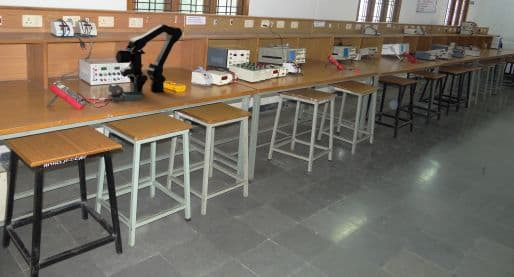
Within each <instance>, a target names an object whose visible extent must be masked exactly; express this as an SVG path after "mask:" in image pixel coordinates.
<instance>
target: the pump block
mask: <svg viewBox="0 0 514 277" xmlns="http://www.w3.org/2000/svg"><path fill="white" fill-rule="evenodd" d="M143 87H144V86H143ZM143 87H142V90H141V92H138V88H137V83H136V82H135V81H134V82H131V81H130V91H137V92H138V93H140V94H142V95H143V93H144V92H143Z"/></svg>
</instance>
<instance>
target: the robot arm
mask: <svg viewBox="0 0 514 277" xmlns="http://www.w3.org/2000/svg"><path fill="white" fill-rule="evenodd" d="M163 33H166V35H165V36H166V38H165V42H164V44H163V45H162V48H161V50H160V52H159V54H158V55H157V57H156V59H155V61H154V62H152V63H149V65H148V68H146V70H147V71H146V74H147V75H146V74H144V72H143V69H142V68H143V67H144V64H142V63H143V62H142V55H145V54H146V52H145V51H144V50H143V48H145V47H146V46H147V44H148V43H149V42H150V41H151V40H154V39H155V38H157V37H158V36H159V35H161V34H163ZM182 35H183V31H182V28H180V27H176V26H170V25H166V24H164V23H159V24H157V26H155V27H153V28H152V29H150V30H149V31H146V32H145V33H144V34H142V35H138V36H135V37H132V38H130V39H129V41H128V44H127V45H126V47H125V49H117V52H116V55H115V59H116V62H117V64H126V63H127V64H128V66H126V67H124V68H121V69H120V70H119V72H120V74H121V76H122V77H124V78H125V77H127V78H128V79H129V80H130V82H134V81H135V82H136V83H137V88H138V92H141V90H142V87H144V85H145V83H146V82H147V81H148V80H150V81H151V83H150V84H149V85H150V89H149V91H150V92H153V94H154V93H155V94H156V93H165V91H166V90H164V88H165V87H164V85H165V84H164V83H165V82H166V79H167V78H166V77H165V75H164V74H163V73H164V65H165V63H166V61H167V59H168V58H169V55H170V52H171V51H172V49H173V46H174V45H175V44H176V43H177V42H178V41H179V40H180V39H181V37H182ZM148 78H149V79H148Z"/></svg>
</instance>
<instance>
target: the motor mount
mask: <svg viewBox="0 0 514 277" xmlns="http://www.w3.org/2000/svg"><path fill="white" fill-rule="evenodd" d="M107 91H108V92H109V93H107V98H108V99H109V98H110V99H112V102H120V101H121V102H123V101H124V102H126V101H139V100H140V101H141V100H143V94H140V93H138V92H137V91H131V90H129V91H124V89H123V87H122V86H120V85H119V84H117V83H110V84H108V87H107ZM110 99H109V100H110Z"/></svg>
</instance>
